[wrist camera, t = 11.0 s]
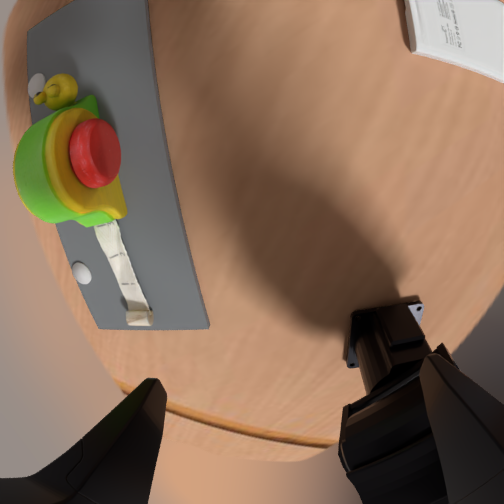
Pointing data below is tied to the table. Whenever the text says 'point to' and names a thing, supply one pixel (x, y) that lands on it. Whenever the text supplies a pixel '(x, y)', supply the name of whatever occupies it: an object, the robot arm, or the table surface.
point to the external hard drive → (459, 33)
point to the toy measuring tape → (78, 178)
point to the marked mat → (122, 160)
